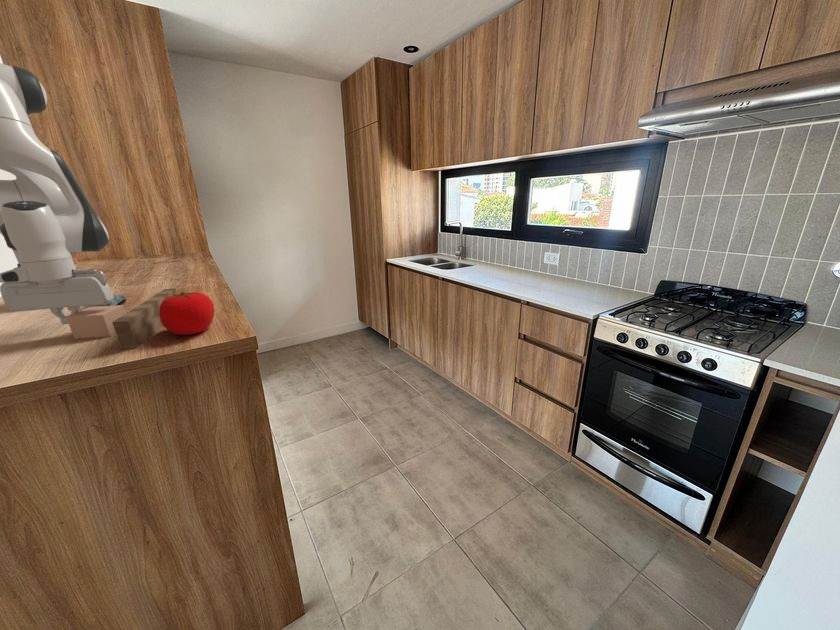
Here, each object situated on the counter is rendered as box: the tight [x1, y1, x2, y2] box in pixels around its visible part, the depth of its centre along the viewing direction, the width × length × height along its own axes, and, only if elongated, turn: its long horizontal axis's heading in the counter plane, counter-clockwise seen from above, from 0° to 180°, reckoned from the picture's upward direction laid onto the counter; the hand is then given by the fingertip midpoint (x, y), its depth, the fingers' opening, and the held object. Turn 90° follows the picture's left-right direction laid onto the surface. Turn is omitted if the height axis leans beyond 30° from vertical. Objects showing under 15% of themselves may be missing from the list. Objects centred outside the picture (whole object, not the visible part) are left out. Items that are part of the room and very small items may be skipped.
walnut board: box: [112, 288, 178, 350], centre depth 91 cm, size 30×3×7 cm, turn 17°
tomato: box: [159, 291, 215, 336], centre depth 87 cm, size 12×13×11 cm
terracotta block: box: [66, 304, 127, 340], centre depth 87 cm, size 8×8×6 cm
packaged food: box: [80, 294, 127, 311], centre depth 104 cm, size 9×12×5 cm
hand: (71, 322), depth 86 cm, fingers closed
